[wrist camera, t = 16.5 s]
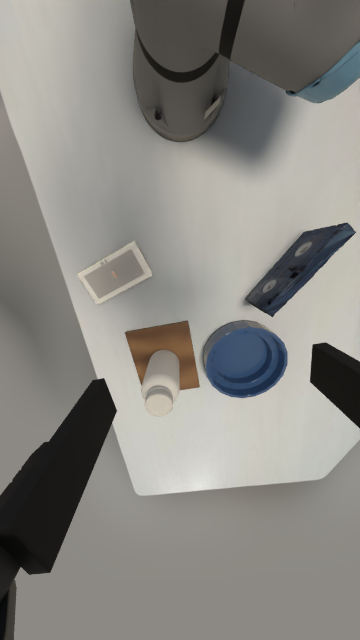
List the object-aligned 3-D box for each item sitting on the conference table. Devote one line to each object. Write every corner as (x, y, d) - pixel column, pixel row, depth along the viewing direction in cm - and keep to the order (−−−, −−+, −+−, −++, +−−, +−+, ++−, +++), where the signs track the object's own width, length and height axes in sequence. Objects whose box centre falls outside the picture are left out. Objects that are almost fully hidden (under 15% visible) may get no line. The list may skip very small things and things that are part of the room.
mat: (125, 331, 44) (124, 332, 44) (187, 320, 43) (187, 321, 43) (145, 394, 51) (144, 395, 50) (199, 385, 50) (199, 387, 49)
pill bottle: (182, 352, 45) (184, 394, 31) (175, 377, 48) (173, 426, 34) (153, 345, 45) (141, 384, 31) (146, 370, 47) (133, 418, 33)
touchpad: (153, 274, 40) (152, 275, 38) (99, 303, 42) (95, 306, 40) (135, 241, 37) (133, 240, 35) (79, 273, 40) (73, 274, 37)
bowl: (198, 327, 44) (200, 335, 39) (276, 314, 43) (288, 320, 38) (208, 389, 50) (211, 402, 45) (276, 378, 49) (287, 391, 44)
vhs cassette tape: (251, 305, 42) (272, 318, 33) (242, 297, 41) (261, 308, 32) (313, 240, 37) (358, 233, 28) (305, 230, 37) (348, 220, 27)
